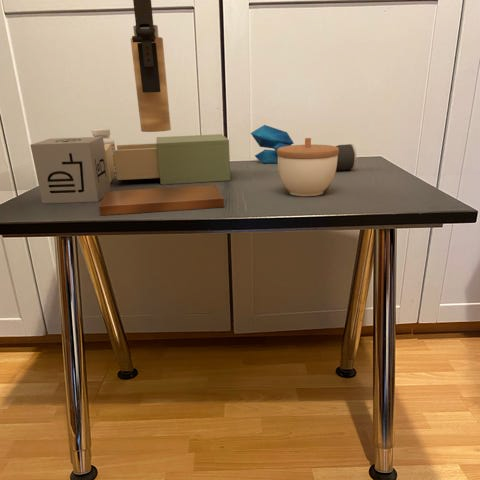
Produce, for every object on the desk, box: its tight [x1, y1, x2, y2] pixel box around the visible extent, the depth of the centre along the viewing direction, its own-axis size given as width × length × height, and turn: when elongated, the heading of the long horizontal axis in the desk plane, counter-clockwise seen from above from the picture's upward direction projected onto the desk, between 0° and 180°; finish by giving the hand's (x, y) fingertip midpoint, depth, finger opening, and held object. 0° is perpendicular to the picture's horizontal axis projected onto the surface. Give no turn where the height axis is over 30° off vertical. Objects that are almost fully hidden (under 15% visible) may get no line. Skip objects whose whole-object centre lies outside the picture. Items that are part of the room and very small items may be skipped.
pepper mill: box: [130, 24, 172, 133], centre depth 75 cm, size 5×5×15 cm
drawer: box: [104, 142, 160, 184], centre depth 102 cm, size 18×11×6 cm, turn 99°
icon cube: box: [29, 136, 112, 204], centre depth 89 cm, size 10×10×10 cm
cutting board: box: [98, 184, 225, 216], centre depth 83 cm, size 20×12×2 cm, turn 99°
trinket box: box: [277, 137, 339, 197], centre depth 85 cm, size 11×11×9 cm
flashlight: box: [335, 143, 357, 171], centre depth 106 cm, size 15×5×5 cm, turn 102°
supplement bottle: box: [91, 128, 116, 174], centre depth 113 cm, size 5×5×10 cm
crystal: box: [250, 124, 295, 165], centre depth 120 cm, size 7×9×12 cm
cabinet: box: [155, 133, 231, 186], centre depth 104 cm, size 15×13×8 cm
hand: (151, 91), depth 76 cm, fingers closed on pepper mill, 5 cm apart
